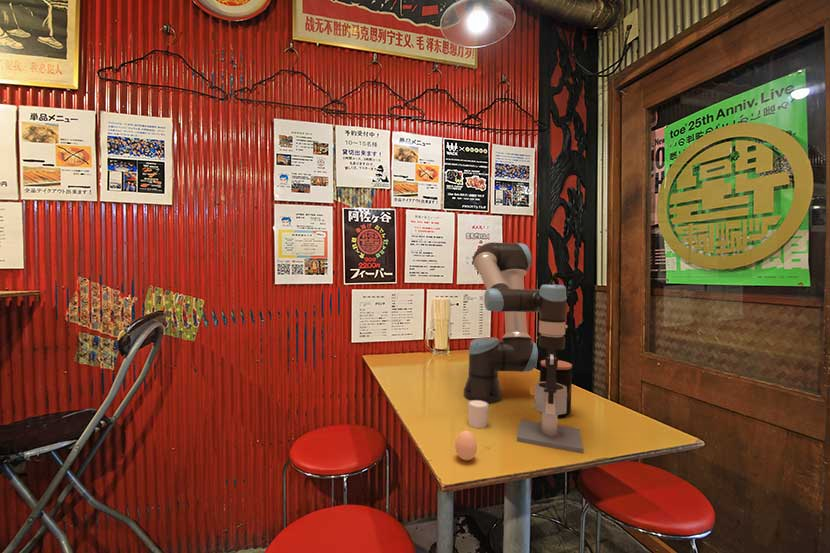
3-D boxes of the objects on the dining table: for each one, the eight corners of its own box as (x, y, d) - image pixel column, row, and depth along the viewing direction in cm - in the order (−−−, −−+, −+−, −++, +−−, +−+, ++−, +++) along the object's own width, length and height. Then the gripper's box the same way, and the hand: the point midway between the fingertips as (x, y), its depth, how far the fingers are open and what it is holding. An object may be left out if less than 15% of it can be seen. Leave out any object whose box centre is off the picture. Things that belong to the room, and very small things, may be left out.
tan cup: (465, 420, 120) (465, 399, 120) (485, 419, 121) (485, 399, 121) (470, 429, 113) (470, 407, 113) (491, 428, 114) (491, 407, 114)
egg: (452, 462, 94) (453, 433, 93) (457, 452, 99) (458, 425, 99) (474, 467, 91) (475, 437, 91) (478, 456, 97) (479, 428, 97)
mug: (529, 410, 107) (529, 387, 107) (530, 401, 115) (530, 379, 115) (566, 416, 103) (567, 392, 103) (565, 406, 112) (565, 383, 112)
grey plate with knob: (516, 441, 106) (517, 413, 106) (520, 422, 119) (520, 398, 119) (583, 453, 100) (584, 424, 100) (579, 432, 113) (579, 406, 113)
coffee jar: (556, 421, 121) (557, 368, 121) (532, 409, 131) (534, 361, 130) (577, 415, 126) (578, 365, 126) (553, 405, 136) (554, 358, 135)
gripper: (567, 342, 97) (565, 423, 98) (563, 330, 118) (561, 398, 118) (538, 339, 100) (536, 419, 100) (539, 329, 120) (538, 395, 121)
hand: (550, 408), depth 109 cm, fingers closed on mug, 9 cm apart
